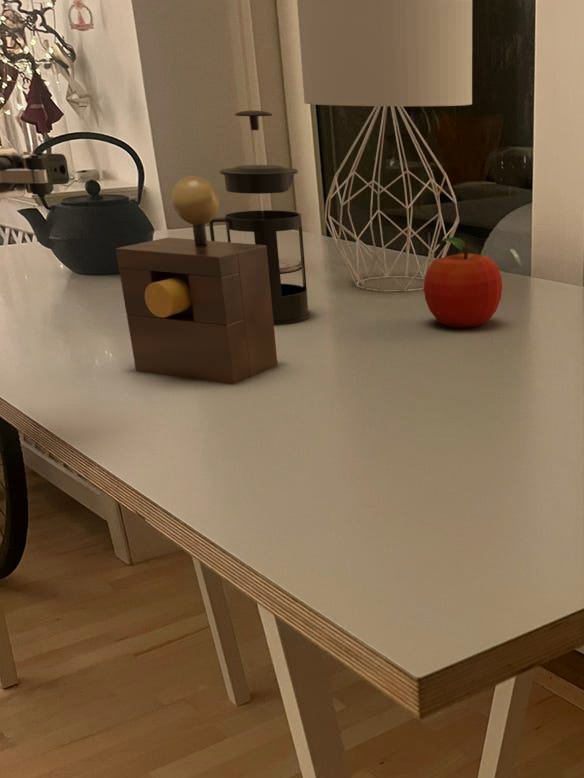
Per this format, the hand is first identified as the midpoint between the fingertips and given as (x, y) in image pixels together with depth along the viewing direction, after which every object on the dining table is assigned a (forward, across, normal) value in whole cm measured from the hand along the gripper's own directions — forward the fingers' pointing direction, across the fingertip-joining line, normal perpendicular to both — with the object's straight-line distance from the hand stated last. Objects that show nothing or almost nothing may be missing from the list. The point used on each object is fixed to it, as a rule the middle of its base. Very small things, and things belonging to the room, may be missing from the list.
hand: (60, 168), depth 81 cm
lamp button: (+11, -1, +13) cm, 17 cm away
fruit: (+45, -18, +19) cm, 52 cm away
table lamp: (+66, 0, +18) cm, 68 cm away
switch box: (+16, -1, +20) cm, 25 cm away
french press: (+39, +6, +19) cm, 44 cm away
